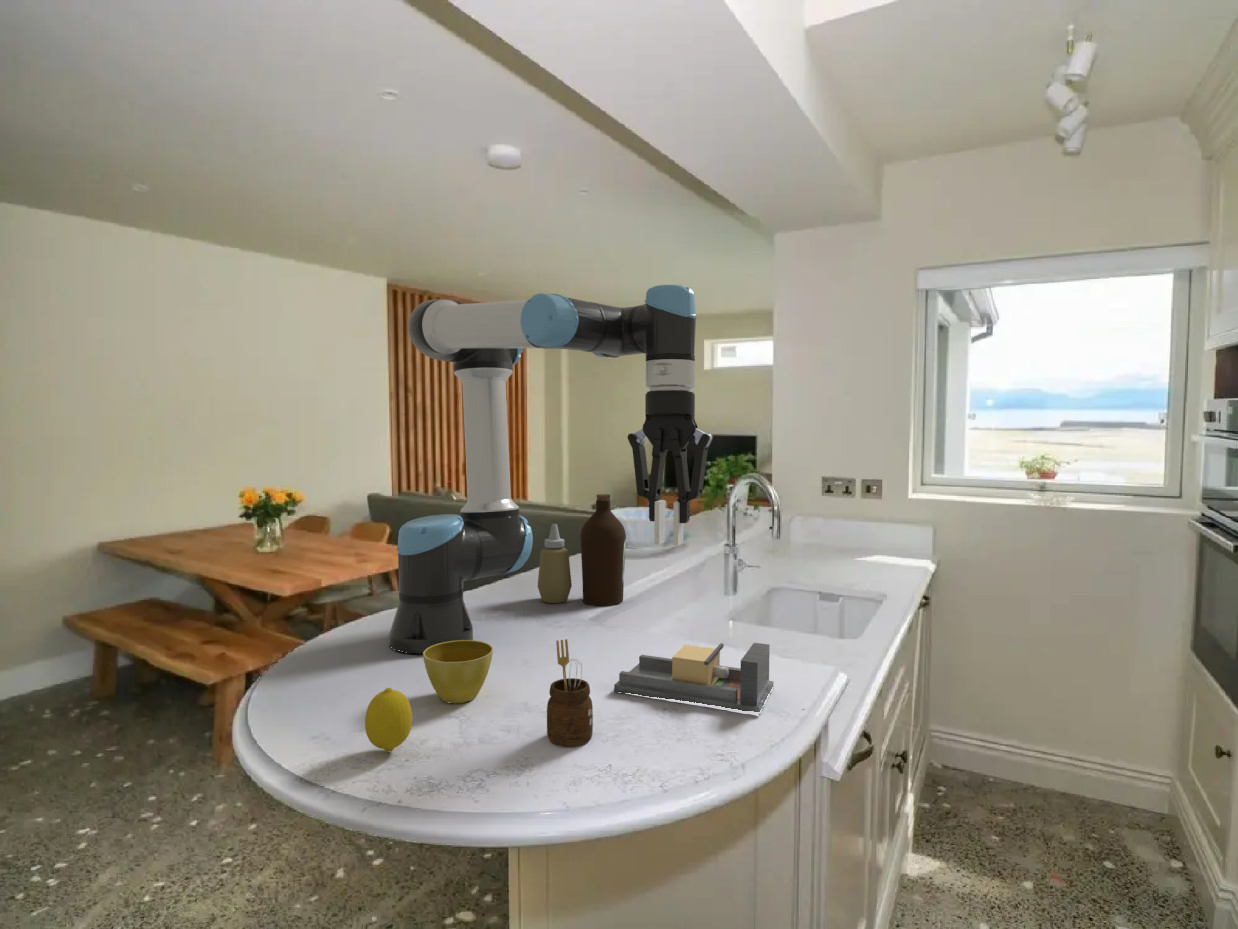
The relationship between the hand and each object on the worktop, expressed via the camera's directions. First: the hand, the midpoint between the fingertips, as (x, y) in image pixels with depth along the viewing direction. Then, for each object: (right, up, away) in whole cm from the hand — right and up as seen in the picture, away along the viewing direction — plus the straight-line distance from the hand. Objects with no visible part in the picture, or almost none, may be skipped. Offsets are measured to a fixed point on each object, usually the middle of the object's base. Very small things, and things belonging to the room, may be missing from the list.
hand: (669, 543), depth 105 cm
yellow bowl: (-32, -23, -3) cm, 39 cm away
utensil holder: (-14, -24, -17) cm, 32 cm away
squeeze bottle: (-23, -20, +55) cm, 62 cm away
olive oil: (-11, -20, +54) cm, 59 cm away
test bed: (+4, -23, -1) cm, 23 cm away
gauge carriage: (+5, -21, -1) cm, 22 cm away
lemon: (-36, -24, -21) cm, 48 cm away
